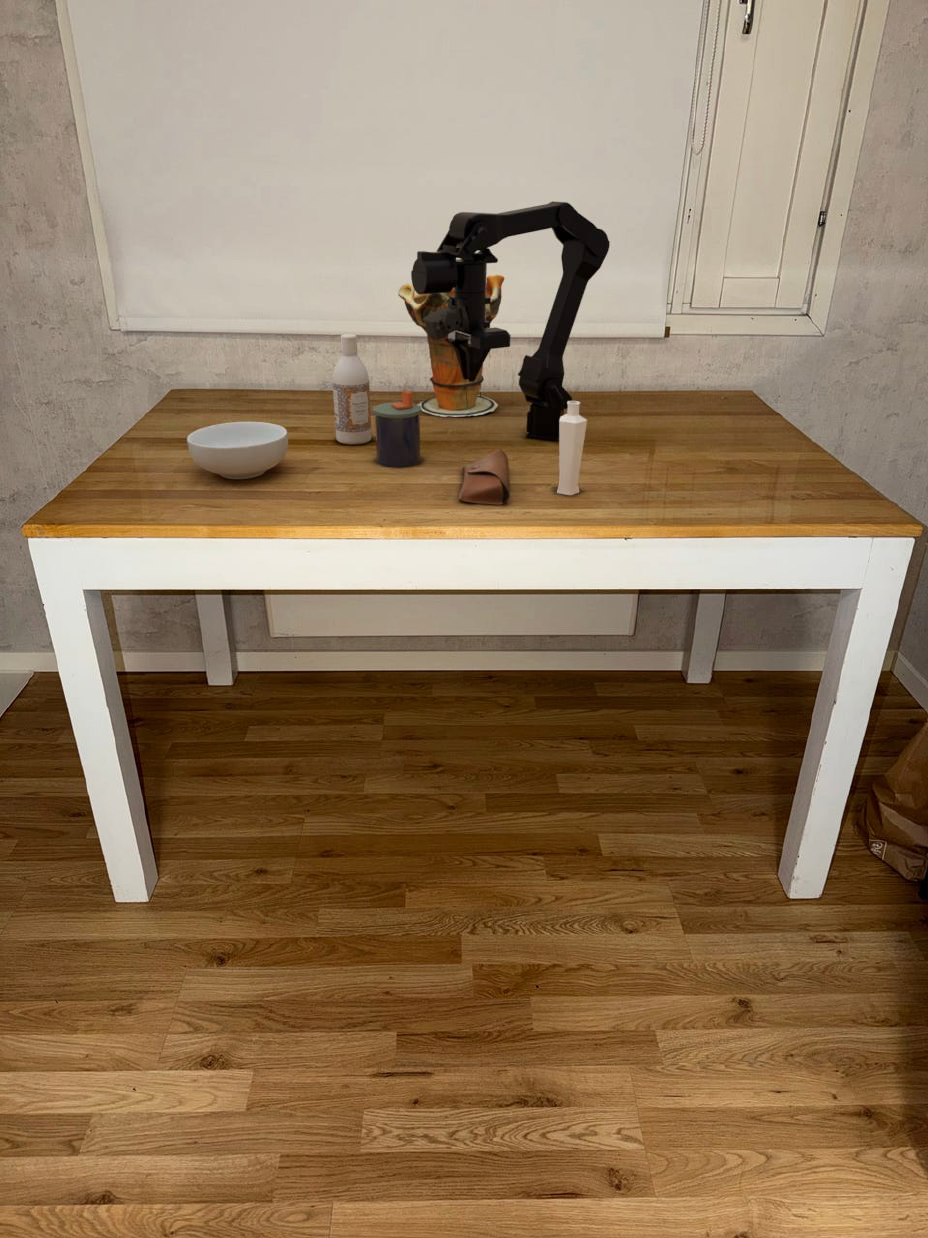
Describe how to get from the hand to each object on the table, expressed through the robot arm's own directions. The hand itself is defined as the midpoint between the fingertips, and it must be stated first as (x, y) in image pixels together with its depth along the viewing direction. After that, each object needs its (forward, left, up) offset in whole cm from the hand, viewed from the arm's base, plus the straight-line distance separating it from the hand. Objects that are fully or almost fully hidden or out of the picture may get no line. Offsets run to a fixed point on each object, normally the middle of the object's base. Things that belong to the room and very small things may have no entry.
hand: (468, 380), depth 160 cm
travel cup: (+9, +12, -13) cm, 20 cm away
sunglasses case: (-10, +19, -13) cm, 25 cm away
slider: (+9, +12, -3) cm, 15 cm away
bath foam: (+23, +4, -13) cm, 27 cm away
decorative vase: (+14, -27, -13) cm, 33 cm away
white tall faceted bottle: (-24, +16, -13) cm, 32 cm away
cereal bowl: (+32, +29, -13) cm, 45 cm away
